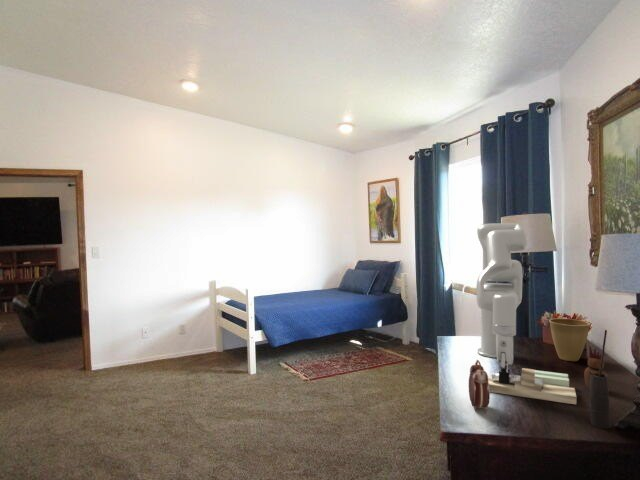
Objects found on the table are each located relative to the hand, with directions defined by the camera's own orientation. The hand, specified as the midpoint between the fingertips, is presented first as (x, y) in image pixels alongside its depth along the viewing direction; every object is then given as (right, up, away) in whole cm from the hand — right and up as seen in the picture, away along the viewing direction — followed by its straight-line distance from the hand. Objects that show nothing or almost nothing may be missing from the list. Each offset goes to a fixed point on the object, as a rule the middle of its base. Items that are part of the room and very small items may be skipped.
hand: (504, 380), depth 152 cm
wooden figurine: (+31, -3, -1) cm, 32 cm away
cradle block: (+17, -3, +1) cm, 17 cm away
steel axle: (+4, -1, -2) cm, 4 cm away
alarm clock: (-14, -4, -15) cm, 21 cm away
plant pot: (+42, -2, +34) cm, 54 cm away
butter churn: (+15, -4, -26) cm, 31 cm away
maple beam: (+7, -3, -3) cm, 8 cm away
